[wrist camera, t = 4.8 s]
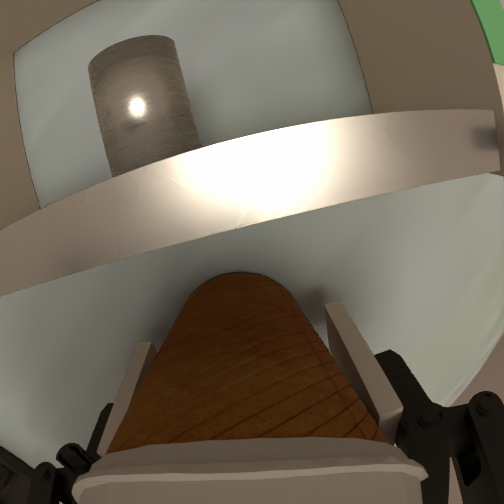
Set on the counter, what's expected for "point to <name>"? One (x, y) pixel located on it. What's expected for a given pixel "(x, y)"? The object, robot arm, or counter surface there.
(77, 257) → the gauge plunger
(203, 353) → the disposable coffee cup
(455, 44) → the frame
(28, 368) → the counter surface
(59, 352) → the counter surface
